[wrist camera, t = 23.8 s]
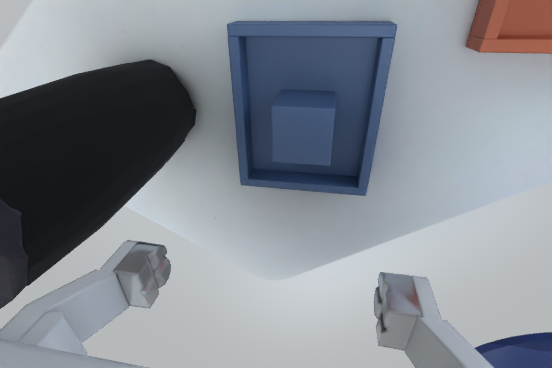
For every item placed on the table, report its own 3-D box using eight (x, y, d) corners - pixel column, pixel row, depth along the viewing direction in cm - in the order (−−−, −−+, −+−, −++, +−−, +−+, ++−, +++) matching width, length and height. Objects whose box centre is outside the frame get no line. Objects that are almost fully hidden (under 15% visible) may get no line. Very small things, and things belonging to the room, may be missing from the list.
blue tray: (363, 181, 29) (366, 196, 27) (247, 172, 31) (240, 185, 28) (391, 21, 22) (397, 24, 19) (236, 21, 23) (226, 23, 21)
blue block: (330, 142, 27) (329, 166, 23) (281, 139, 27) (272, 161, 24) (335, 91, 24) (335, 108, 21) (281, 89, 25) (271, 106, 21)
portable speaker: (95, 90, 29) (-227, 215, 12) (160, 30, 25) (-186, 98, 8) (157, 160, 32) (-35, 335, 15) (223, 117, 28) (61, 290, 11)
